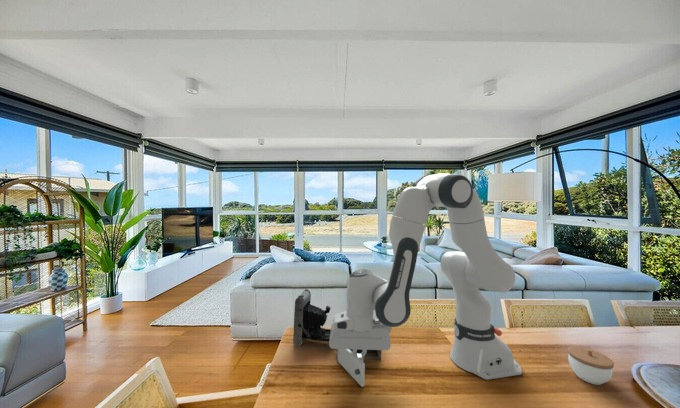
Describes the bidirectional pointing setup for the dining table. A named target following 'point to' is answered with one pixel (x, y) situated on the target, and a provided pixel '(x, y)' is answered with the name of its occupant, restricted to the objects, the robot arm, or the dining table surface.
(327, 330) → the vintage camera
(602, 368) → the lidded jar
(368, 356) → the case
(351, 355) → the door
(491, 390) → the dining table surface
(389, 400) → the dining table surface
